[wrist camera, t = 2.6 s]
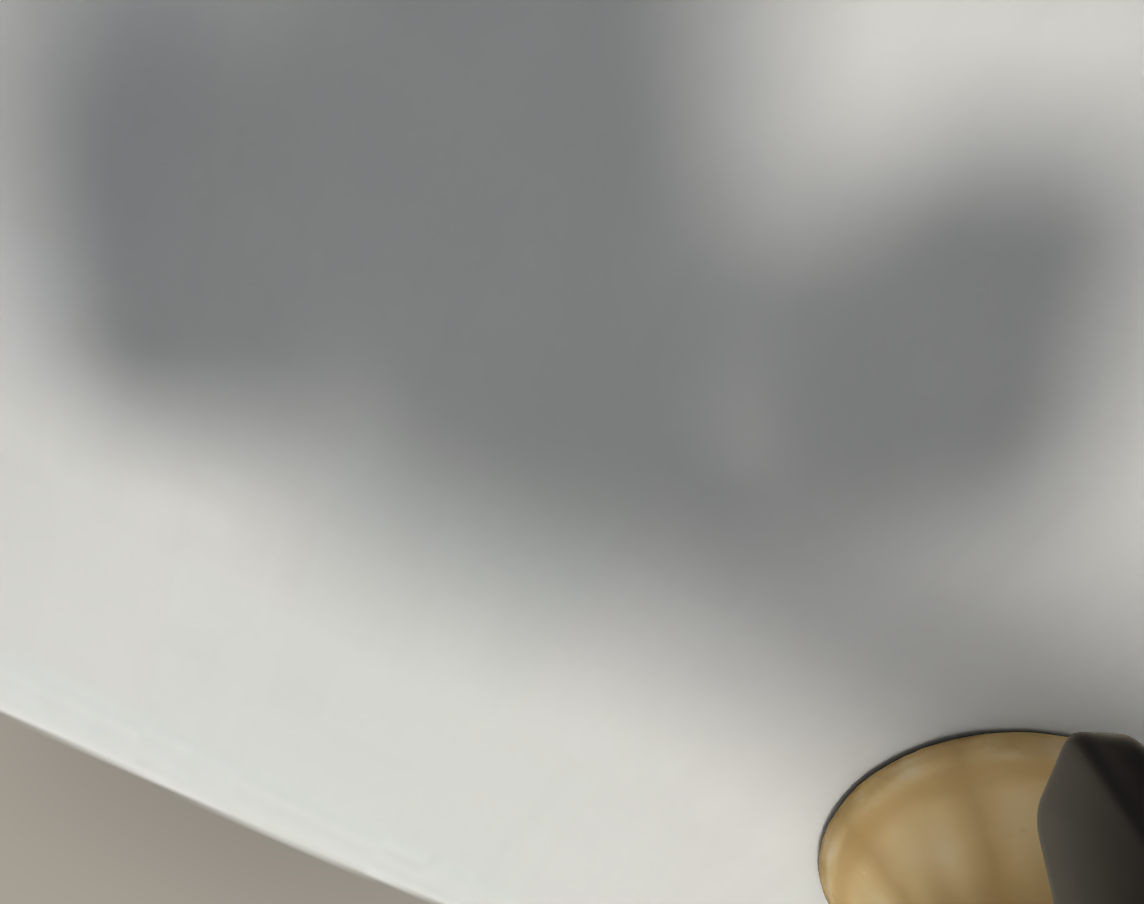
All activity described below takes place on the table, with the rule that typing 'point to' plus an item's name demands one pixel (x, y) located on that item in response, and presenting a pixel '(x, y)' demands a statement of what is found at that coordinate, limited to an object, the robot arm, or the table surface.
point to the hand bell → (945, 826)
